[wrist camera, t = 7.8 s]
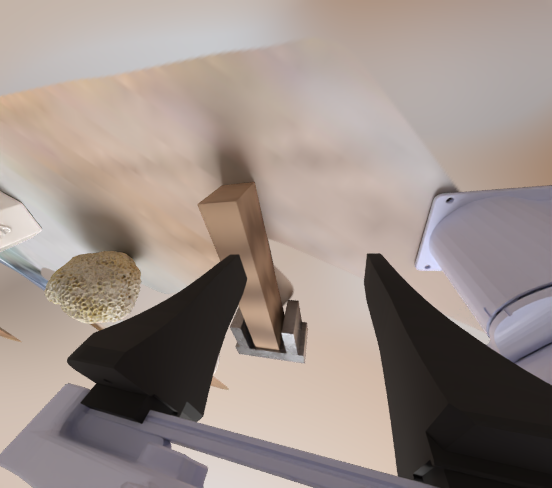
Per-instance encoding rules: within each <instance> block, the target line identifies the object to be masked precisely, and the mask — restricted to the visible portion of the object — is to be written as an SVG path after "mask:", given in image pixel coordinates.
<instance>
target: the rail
mask: <svg viewBox="0 0 552 488" xmlns="http://www.w3.org/2000/svg"><path fill="white" fill-rule="evenodd" d="M197 205H198V207H199V210H200V212H201V215H202V217H203V219H204V222H205V224H206V227H207V229H208V232H209V234H210V237H211V239H212V241H213V244H214V246H215V249H216V251H217V254H218V256H219V259H220V261H222V260H223V259H224V258H226V257H227V256H229V255H230V254H239V255H240V258H241V261H242V264H243V267H244V270H245V273H246V276H247V283H246V286H245V290H244V293H243V295H242V298H241V300H240V302H239V307H240V310H241V312H242V315H243V317H244V320H245V322H246V325H247V327H248V329H249V332H250V334H251V337H252V339H253V342H254V344H255V347H258V348H265V349H272V350H280V344H281V339H282V334H281V332H282V327H283V322H284V317H285V314H284V310H283V307H282V303H281V299H280V294H279V290H278V285H277V281H276V276H275V272H274V267H273V259H272V255H271V250H270V246H269V241H268V239H267V236H266V231H265V227H264V222H263V218H262V213H261V209H260V204H259V200H258V195H257V191H256V186H255V182H250V183H241V184H231V185H222V186H221V187H220V188H218V189H217V190H216V191H214V192H213V193H212V194H210V195H209V196H208V197H206V198H205V199H204V200H202V201H201V202H200V203H198V204H197Z"/></svg>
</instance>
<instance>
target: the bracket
mask: <svg viewBox="0 0 552 488" xmlns="http://www.w3.org/2000/svg"><path fill="white" fill-rule="evenodd" d="M230 328H231V330H232V332H233V334H234V336H235V338H236V340H237V344H236V349H237V351H238V352H239V354H244V355H251V356H258V357H264V358H271V359H278V360H285V361H292V362H299V363H305V356H306V345H307V333H308V328H307V323H305V322H302V320H301V314H300V308H299V301H294V300H288V302H287V307H286V312H285V317H284V322H283V327H282V332H281V334H282V339H281V344H280V350H272V349H265V348H258V347H255V344H254V342H253V339H252V337H251V334H250V332H249V329H248V327H247V325H246V322H245V320H244V317H243V315H242V312H241V310H240V307H239V308H238V310H237V312H236V315H235V317H234V319H233V322H232V324H231V326H230Z"/></svg>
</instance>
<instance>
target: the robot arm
mask: <svg viewBox="0 0 552 488" xmlns="http://www.w3.org/2000/svg"><path fill="white" fill-rule="evenodd" d="M451 197H452V199H451V200H450V201H448V202H446V200H447V199H448V198H451ZM426 265H428V266H426ZM425 266H426V267H425ZM415 267H416V269H417V270H423V271H443V272H444V273H445V275H446V276H447V278H448V279H449V281H450V282H451V284H452V285H453V286H454V288H455V289H456V291H457V292H458V294H459V295H460V296H461V298H462V299H463V301H464V302H465V304H466V305H467V307H468V308H469V309H470V311H471V312H472V314H473V315H474V317H475V318H476V319H477V321H478V322H479V324H480V325H481V327H482V328H483V330H484V331H485V332H486V334H487V335H488V337H489V338H490V342H489V343H488V344H487V345H485V344H483V343H482V342H481V341H479V340H477V339H476V338H475V337H473V336H472V335H470V334H469V333H468V332H466V331H465V330H463V329H462V328H460V327H459V326H458V325H456V324H455V323H454V322H452V321H451V320H450V319H448V318H447V317H446V316H445V315H443V314H442V313H441V312H440V311H438V310H437V309H436V308H435V307H433V306H432V305H431V304H430V303H429V302H428V301H426V300H425V299H424V298H423V297H422V296H421V295H420V294H419V293H418V292H416V291H415V290H414V289H413V288H412V287H411V286H410V285H409V284H408V283H407V282H406V281H405V280H404V279H403V278H402V277H401V276H400V275H399V274H398V272H397V271H396V270H395V269H394V268H393V267H392V266H391V265H390V264H389V263H388V261H387V260H386V259H385V258H384V257H383V256H382V255H381V254H367V259H366V269H365V278H364V286H365V293H366V300H367V304H368V308H369V311H370V315H371V319H372V322H373V326H374V330H375V334H376V337H377V341H378V345H379V350H380V355H381V361H382V367H383V372H384V379H385V386H386V391H387V399H388V405H389V413H390V419H391V427H392V434H393V442H394V449H395V458H396V466H397V473H398V476H394V475H390V474H387V473H383V472H379V471H375V470H372V469H368V468H364V467H361V466H357V465H353V464H350V463H346V462H342V461H338V460H335V459H331V458H327V457H323V456H319V455H316V454H312V453H309V452H305V451H301V450H298V449H294V448H290V447H286V446H282V445H279V444H275V443H271V442H267V441H264V440H260V439H256V438H253V437H249V436H245V435H242V434H238V433H234V432H231V431H227V430H223V429H219V428H216V427H212V426H208V425H204V424H201V423H197V421H198V420H200V419H201V418H202V417H203V415H204V410H205V405H206V402H207V397H208V393H209V389H210V385H211V381H212V377H213V374H214V370H215V366H216V363H217V360H218V356H219V353H220V350H221V347H222V344H223V341H224V338H225V334H226V332H227V329H228V327H229V325H230V322H231V320H232V318H233V315H234V313H235V311H236V309H237V307H238V305H239V302H240V300H241V298H242V295H243V293H244V290H245V286H246V283H247V276H246V273H245V270H244V267H243V264H242V261H241V258H240V255H239V254H230V255H229V256H227V257H226V258H224V259H223V260H222V261H221V262H219V263H218V264H217V265H215V266H214V267H213V268H212V269H210V270H209V271H208V272H206V273H205V274H204V275H203V276H201V277H200V278H198V279H197V280H196V281H194V282H193V283H192V284H190V285H189V286H187V287H186V288H184V289H183V290H181V291H180V292H178V293H177V294H175V295H173V296H172V297H170V298H169V299H167V300H165V301H163V302H161V303H160V304H158V305H156V306H154V307H152V308H150V309H148V310H146V311H144V312H142V313H140V314H138V315H136V316H134V317H132V318H130V319H127V320H125V321H123V322H120V323H118V324H115V325H113V326H110V327H108V328H105V329H103V330H100V331H98V332H95V333H93V334H92V335H91V336H90V337H89V338H88V339H87V340H86V341H85V342H84V343H83V344H82V345H81V346H80V347H78V348H77V349H76V350H75V351H74V352H73V354H71V355H70V356H69V357H68V359H67V363H68V364H69V365H70V366H71V367H72V368H73V369H75V370H76V371H78V372H79V373H81V374H82V375H84V376H86V377H88V378H89V379H90V380H92V381H93V382H95V383H96V385H95V386H94V387H93V388H92V389H91V390H90V389H87V388H85V387H81V386H77V385H73V384H70V383H68V384H65V386H64V387H63V388H62V389H61V390H60V391H59V392H58V393H57V394H56V395H55V396H54V397H53V398H52V399H51V400H50V402H49V403H48V404H47V405H46V406H45V407H44V408H43V409H42V410H41V411H40V413H38V414H37V415H36V416H35V418H34V419H33V420H32V421H31V422H30V423H29V424H28V425H27V426H26V427H25V428H24V429H23V430H22V432H21V433H20V434H19V435H18V436H17V437H16V438H15V439H14V440H13V441H12V442H11V443H10V444H9V445H8V446H7V447H6V448H5V450H4V451H3V452H2V453H1V454H0V466H1V467H3V468H5V469H7V470H9V471H11V472H12V473H14V474H16V475H17V476H19V477H20V478H21V479H23V480H24V481H25V482H27V483H28V484H29V485H30V486H31V487H33V488H203V484H204V480H205V477H206V474H207V471H208V468H207V466H205V465H203V464H201V463H199V462H197V461H195V460H193V459H191V458H189V457H188V456H186V455H185V454H182V453H180V452H177V451H174V450H172V449H171V443H174V444H177V445H181V446H184V447H187V448H190V449H193V450H196V451H200V452H203V453H206V454H209V455H212V456H215V457H218V458H222V459H225V460H228V461H231V462H235V463H237V464H241V465H244V466H247V467H250V468H253V469H256V470H260V471H263V472H266V473H269V474H272V475H275V476H279V477H282V478H285V479H288V480H291V481H294V482H298V483H301V484H304V485H307V486H310V487H313V488H552V185H549V186H536V187H523V188H509V189H496V190H483V191H470V192H456V193H443V194H439V195H437V196H436V197H435V198H434V200H433V203H432V206H431V210H430V213H429V217H428V220H427V224H426V227H425V231H424V234H423V238H422V241H421V245H420V248H419V252H418V255H417V259H416V262H415ZM170 442H171V443H170Z"/></svg>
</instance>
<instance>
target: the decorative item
mask: <svg viewBox="0 0 552 488" xmlns="http://www.w3.org/2000/svg"><path fill="white" fill-rule="evenodd" d="M140 276H141V272H140V270H139V269H138V268H137V266H136V264H135V262H134V260H133V259H132V258H131V257H129V256H128V255H127V254H125V253H121V252H116V251H103V252H98V253H93V254H91V253H88V254H81V255H78V256H75V257H73V258H72V259H71V260H70V261H69V262H68V263H66V264H65V265H64V266H62V267H61V268H60V269H58V270H57V271H56V272H55V273H54V274H53V275H52V277H51V279H50V280H49V281H48V283H47V285H46V289H45V291H44V292H45V296H46V297H47V299H48V301H52V302H53V303H54V304H60V306H61V308H62V310H63V311H64V312H65V313H67V315H68V316H69V317H72V318H74V319H75V320H77V321H80V322H82V323H88V324H91V323H107V322H113V323H114V322H116V321H119V320H122V319H123V318H124V317H125V316H126V315H128V314H129V313H130V312H131V310H132V309H133V307H134V306H135V302H136V299H137V297H138V293H139V291H140V283H141V279H140Z"/></svg>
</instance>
